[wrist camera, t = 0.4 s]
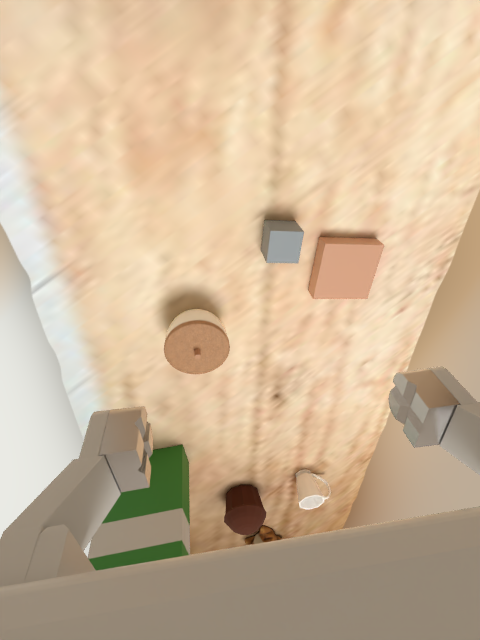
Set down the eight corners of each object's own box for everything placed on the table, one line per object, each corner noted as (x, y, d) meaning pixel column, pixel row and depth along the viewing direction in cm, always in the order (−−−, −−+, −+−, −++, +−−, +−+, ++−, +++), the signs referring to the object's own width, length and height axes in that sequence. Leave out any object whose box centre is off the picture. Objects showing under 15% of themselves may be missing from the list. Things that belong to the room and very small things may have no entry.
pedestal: (319, 236, 57) (325, 243, 55) (375, 238, 59) (384, 245, 56) (308, 290, 63) (313, 298, 60) (360, 290, 64) (367, 298, 62)
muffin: (267, 496, 100) (274, 533, 92) (232, 508, 102) (236, 546, 93) (252, 476, 94) (259, 514, 85) (215, 489, 95) (218, 528, 87)
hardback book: (118, 476, 86) (98, 593, 66) (107, 458, 82) (83, 578, 62) (188, 462, 87) (190, 574, 67) (182, 444, 82) (181, 558, 63)
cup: (294, 466, 93) (303, 495, 87) (328, 466, 96) (339, 494, 89) (287, 481, 97) (295, 510, 91) (320, 480, 99) (330, 509, 93)
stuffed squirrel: (261, 523, 109) (269, 572, 98) (290, 533, 116) (301, 580, 105) (239, 538, 112) (245, 586, 102) (269, 546, 119) (278, 593, 108)
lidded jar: (237, 319, 64) (244, 351, 57) (200, 355, 68) (202, 390, 60) (191, 287, 59) (192, 317, 52) (153, 327, 63) (149, 362, 55)
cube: (264, 219, 54) (270, 230, 50) (295, 220, 55) (303, 231, 51) (260, 249, 57) (266, 262, 53) (290, 250, 58) (298, 263, 54)
